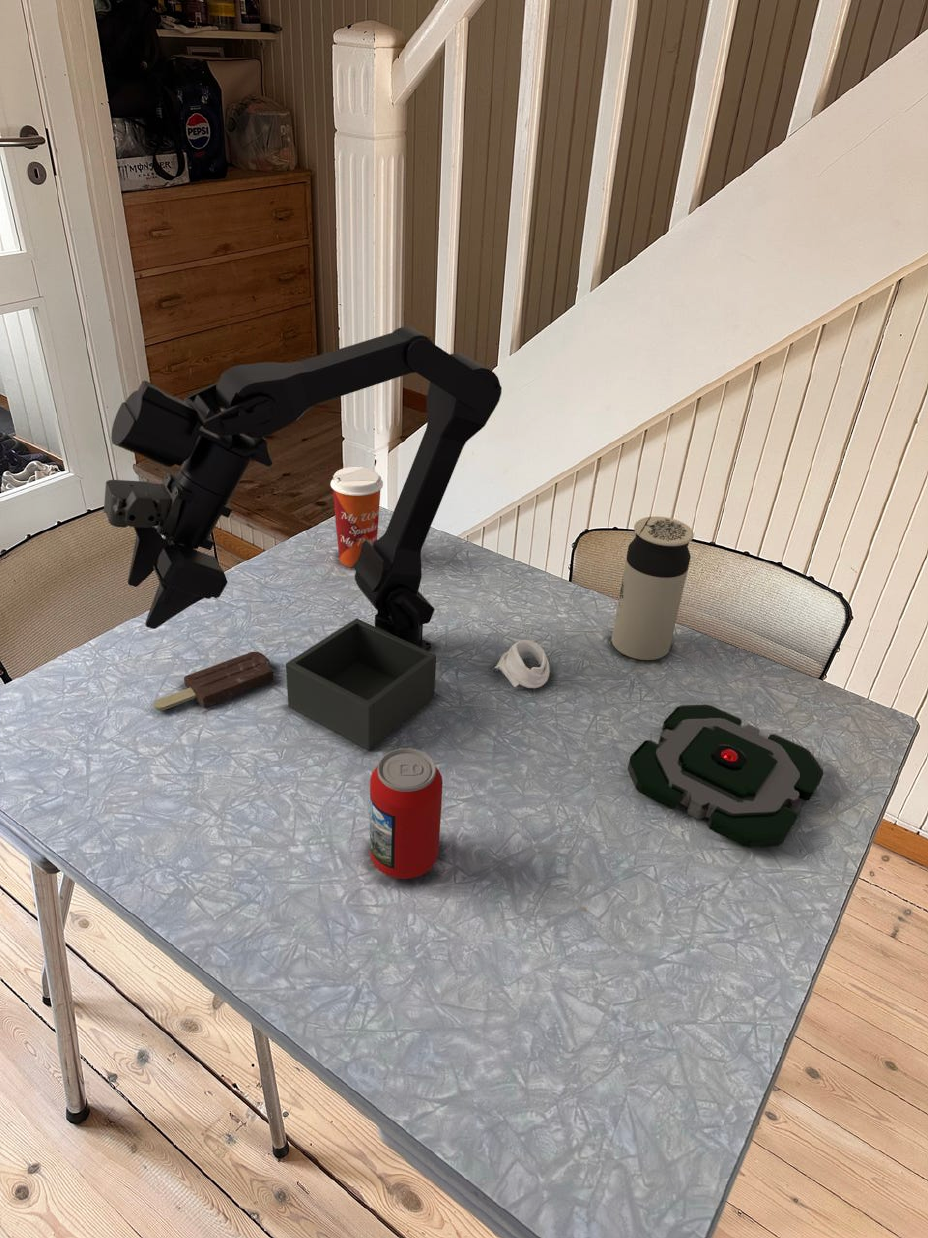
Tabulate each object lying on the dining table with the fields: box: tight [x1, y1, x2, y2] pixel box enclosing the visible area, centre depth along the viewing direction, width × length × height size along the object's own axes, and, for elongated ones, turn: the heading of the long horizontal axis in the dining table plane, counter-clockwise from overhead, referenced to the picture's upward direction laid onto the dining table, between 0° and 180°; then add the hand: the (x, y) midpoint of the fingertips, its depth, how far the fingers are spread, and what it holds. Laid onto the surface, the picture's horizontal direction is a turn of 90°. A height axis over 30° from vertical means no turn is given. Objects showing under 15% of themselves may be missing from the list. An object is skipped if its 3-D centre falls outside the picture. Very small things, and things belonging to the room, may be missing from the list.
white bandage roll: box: [492, 639, 551, 689], centre depth 111 cm, size 8×7×5 cm
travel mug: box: [611, 515, 695, 661], centre depth 115 cm, size 8×8×18 cm
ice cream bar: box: [153, 651, 275, 711], centre depth 106 cm, size 5×2×15 cm
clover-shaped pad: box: [627, 704, 824, 849], centre depth 96 cm, size 18×18×5 cm
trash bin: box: [285, 617, 438, 752], centre depth 104 cm, size 13×13×6 cm
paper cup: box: [330, 466, 384, 568], centre depth 131 cm, size 8×8×14 cm
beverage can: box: [369, 747, 443, 880], centre depth 83 cm, size 7×7×12 cm
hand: (140, 605), depth 94 cm, fingers open, 9 cm apart
